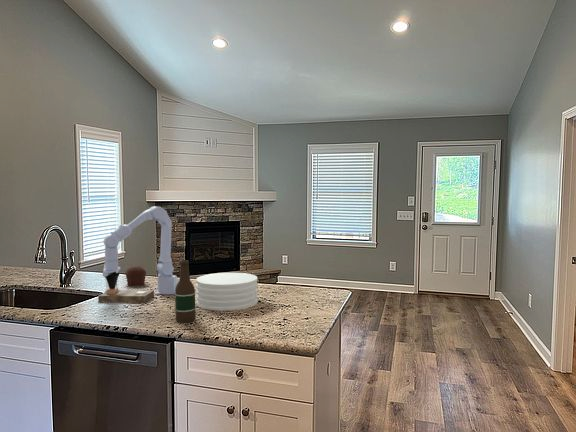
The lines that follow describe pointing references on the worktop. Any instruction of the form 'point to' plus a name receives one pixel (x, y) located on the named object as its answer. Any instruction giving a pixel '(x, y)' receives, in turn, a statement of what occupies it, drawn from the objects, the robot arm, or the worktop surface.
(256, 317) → the worktop surface
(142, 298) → the wooden board
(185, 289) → the beer bottle
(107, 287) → the beer glass
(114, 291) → the terracotta key
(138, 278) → the muffin
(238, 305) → the plate stack
